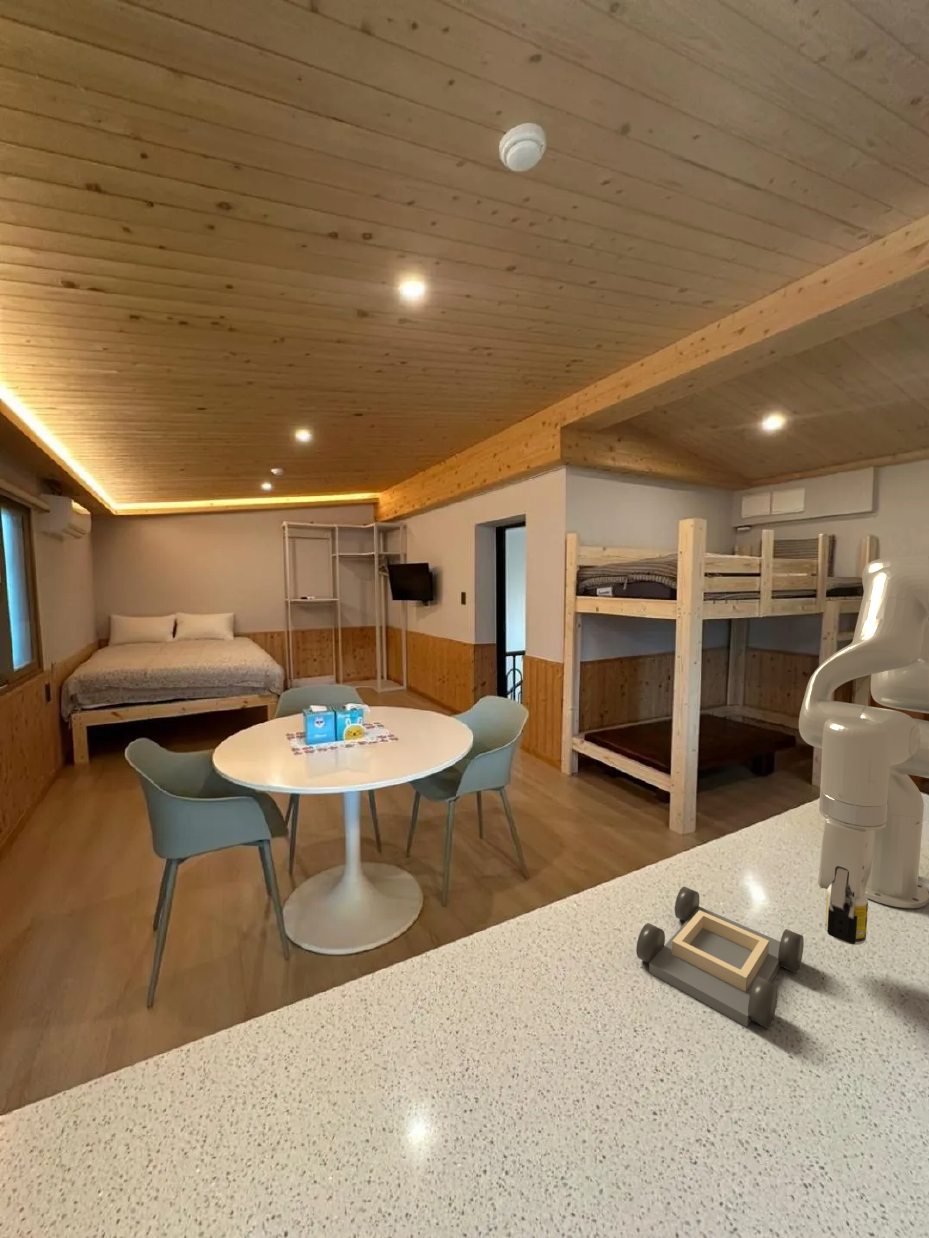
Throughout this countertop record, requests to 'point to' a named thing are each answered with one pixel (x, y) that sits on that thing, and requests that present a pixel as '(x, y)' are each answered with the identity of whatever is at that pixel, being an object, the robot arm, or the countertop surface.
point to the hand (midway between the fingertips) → (845, 926)
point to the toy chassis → (720, 961)
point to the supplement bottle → (860, 912)
